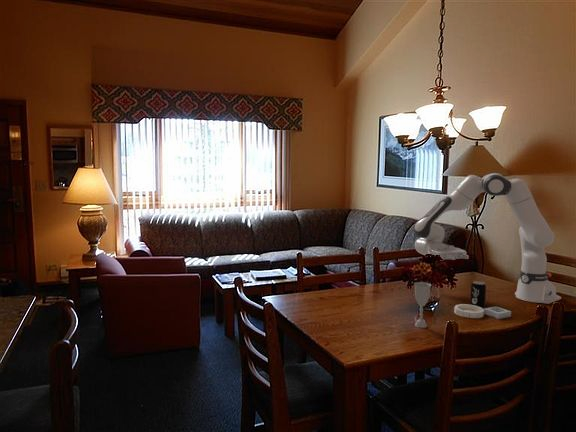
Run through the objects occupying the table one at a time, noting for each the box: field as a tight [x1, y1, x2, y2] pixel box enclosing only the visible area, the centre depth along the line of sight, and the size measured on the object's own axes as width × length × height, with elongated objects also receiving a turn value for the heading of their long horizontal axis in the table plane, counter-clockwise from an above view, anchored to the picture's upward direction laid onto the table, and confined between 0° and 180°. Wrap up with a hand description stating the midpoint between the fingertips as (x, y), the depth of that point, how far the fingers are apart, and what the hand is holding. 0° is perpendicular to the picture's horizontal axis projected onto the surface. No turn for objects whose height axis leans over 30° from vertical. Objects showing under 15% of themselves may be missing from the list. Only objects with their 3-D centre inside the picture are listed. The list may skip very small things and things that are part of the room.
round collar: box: [453, 303, 485, 319], centre depth 204 cm, size 12×12×2 cm
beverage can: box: [469, 280, 487, 309], centre depth 214 cm, size 7×7×12 cm
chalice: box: [413, 281, 432, 328], centre depth 188 cm, size 7×7×18 cm
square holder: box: [483, 305, 512, 320], centre depth 202 cm, size 8×8×2 cm
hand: (461, 257), depth 222 cm, fingers open, 8 cm apart
